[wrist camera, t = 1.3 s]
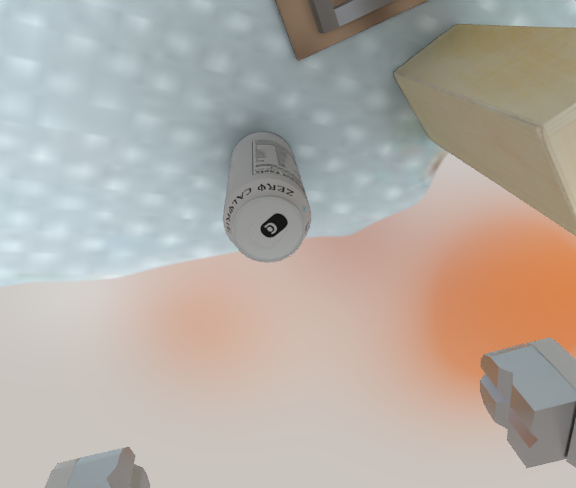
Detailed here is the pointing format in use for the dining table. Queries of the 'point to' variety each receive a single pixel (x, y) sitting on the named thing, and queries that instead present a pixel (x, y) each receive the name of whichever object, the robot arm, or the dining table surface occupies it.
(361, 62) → the dining table surface
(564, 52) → the toy refrigerator
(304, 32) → the jig board
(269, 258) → the energy drink can
